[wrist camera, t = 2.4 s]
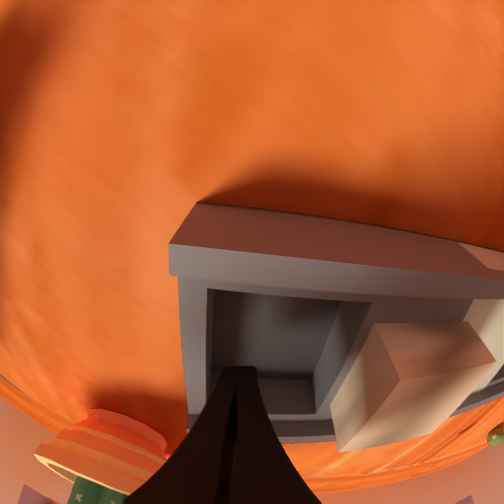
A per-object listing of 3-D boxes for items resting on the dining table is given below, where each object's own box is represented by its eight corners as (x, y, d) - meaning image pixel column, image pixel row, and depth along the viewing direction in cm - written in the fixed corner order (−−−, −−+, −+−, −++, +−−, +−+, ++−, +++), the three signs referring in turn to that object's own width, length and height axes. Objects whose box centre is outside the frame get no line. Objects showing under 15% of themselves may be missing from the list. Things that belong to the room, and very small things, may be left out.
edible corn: (508, 433, 26) (494, 449, 26) (507, 437, 32) (496, 450, 33) (495, 422, 31) (482, 437, 31) (497, 428, 37) (487, 441, 38)
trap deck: (559, 267, 12) (582, 288, 9) (507, 362, 18) (522, 385, 14) (196, 202, 11) (168, 243, 7) (196, 384, 16) (187, 435, 13)
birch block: (467, 321, 10) (496, 361, 7) (416, 395, 13) (431, 432, 10) (374, 323, 10) (400, 380, 7) (329, 405, 13) (338, 452, 10)
